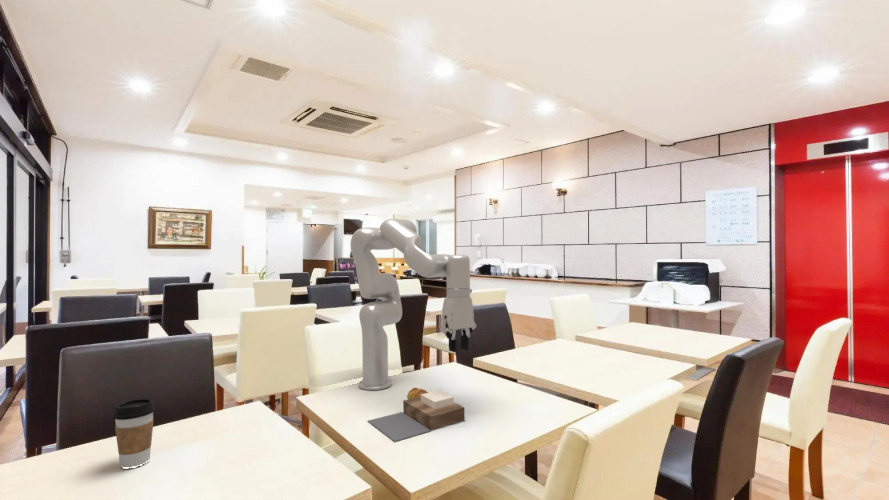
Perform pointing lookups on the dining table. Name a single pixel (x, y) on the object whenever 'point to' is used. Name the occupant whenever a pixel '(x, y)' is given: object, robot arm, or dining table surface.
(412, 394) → the pastry
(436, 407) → the tile
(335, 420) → the dining table surface
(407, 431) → the mat
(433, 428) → the serving board
